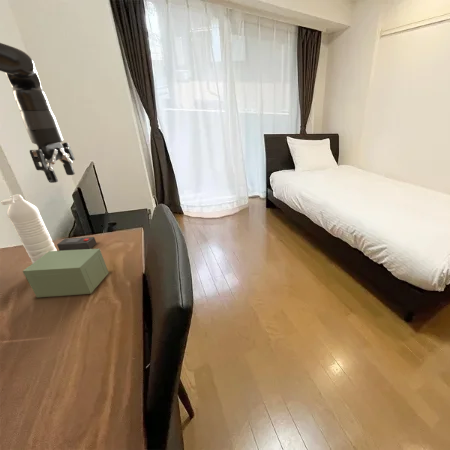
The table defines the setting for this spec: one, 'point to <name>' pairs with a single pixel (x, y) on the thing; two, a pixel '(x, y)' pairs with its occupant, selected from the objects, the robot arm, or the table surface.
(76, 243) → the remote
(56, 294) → the stand
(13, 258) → the table surface
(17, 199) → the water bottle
